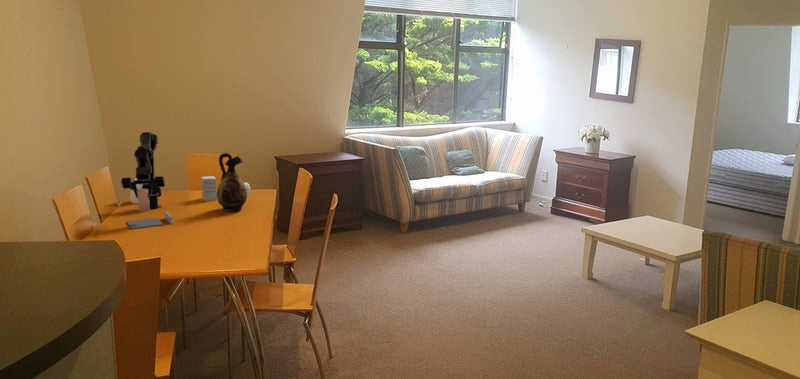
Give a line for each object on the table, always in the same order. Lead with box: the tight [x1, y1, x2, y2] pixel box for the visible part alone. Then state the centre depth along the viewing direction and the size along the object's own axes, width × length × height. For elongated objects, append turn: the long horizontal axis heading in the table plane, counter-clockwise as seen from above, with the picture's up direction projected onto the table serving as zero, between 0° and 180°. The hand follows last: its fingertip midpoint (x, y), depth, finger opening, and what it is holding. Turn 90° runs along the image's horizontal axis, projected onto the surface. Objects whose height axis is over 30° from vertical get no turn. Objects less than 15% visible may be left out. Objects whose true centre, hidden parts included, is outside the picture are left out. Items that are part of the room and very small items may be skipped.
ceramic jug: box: [216, 152, 248, 213], centre depth 310 cm, size 17×15×30 cm
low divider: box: [164, 210, 173, 225], centre depth 289 cm, size 12×1×4 cm, turn 32°
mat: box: [126, 217, 164, 230], centre depth 284 cm, size 14×14×1 cm
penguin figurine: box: [243, 182, 251, 198], centre depth 340 cm, size 6×8×12 cm
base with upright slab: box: [129, 178, 143, 204], centre depth 327 cm, size 9×9×12 cm
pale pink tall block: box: [137, 188, 151, 212], centre depth 281 cm, size 5×5×10 cm
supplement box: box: [200, 175, 218, 202], centre depth 335 cm, size 7×7×13 cm
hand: (142, 197), depth 280 cm, fingers closed on pale pink tall block, 5 cm apart
